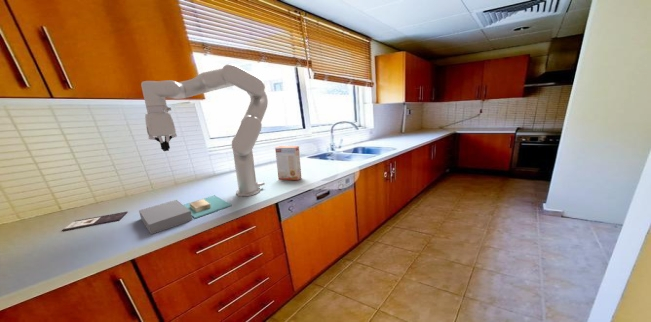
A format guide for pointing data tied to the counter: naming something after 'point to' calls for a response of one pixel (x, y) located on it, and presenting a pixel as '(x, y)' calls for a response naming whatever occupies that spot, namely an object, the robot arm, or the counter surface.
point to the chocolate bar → (95, 221)
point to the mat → (214, 202)
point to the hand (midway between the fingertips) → (166, 150)
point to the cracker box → (288, 162)
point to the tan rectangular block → (200, 205)
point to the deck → (165, 216)
